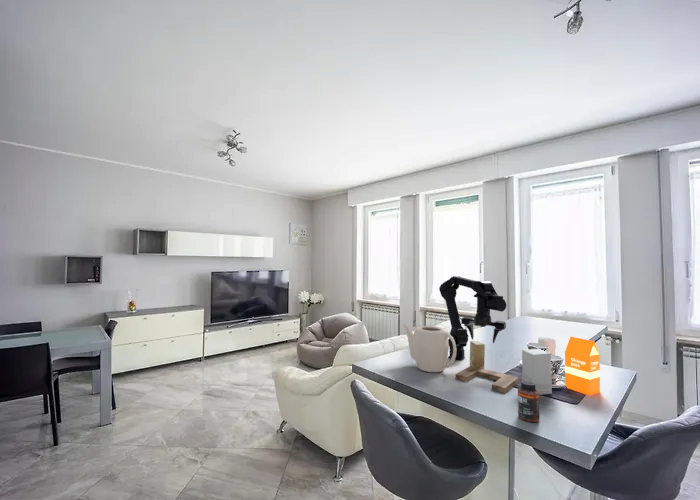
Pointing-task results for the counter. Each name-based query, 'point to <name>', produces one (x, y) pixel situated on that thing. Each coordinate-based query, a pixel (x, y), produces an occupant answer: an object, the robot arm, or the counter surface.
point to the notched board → (501, 384)
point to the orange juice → (582, 366)
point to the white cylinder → (548, 344)
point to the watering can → (430, 347)
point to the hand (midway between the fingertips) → (482, 341)
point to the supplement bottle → (528, 402)
